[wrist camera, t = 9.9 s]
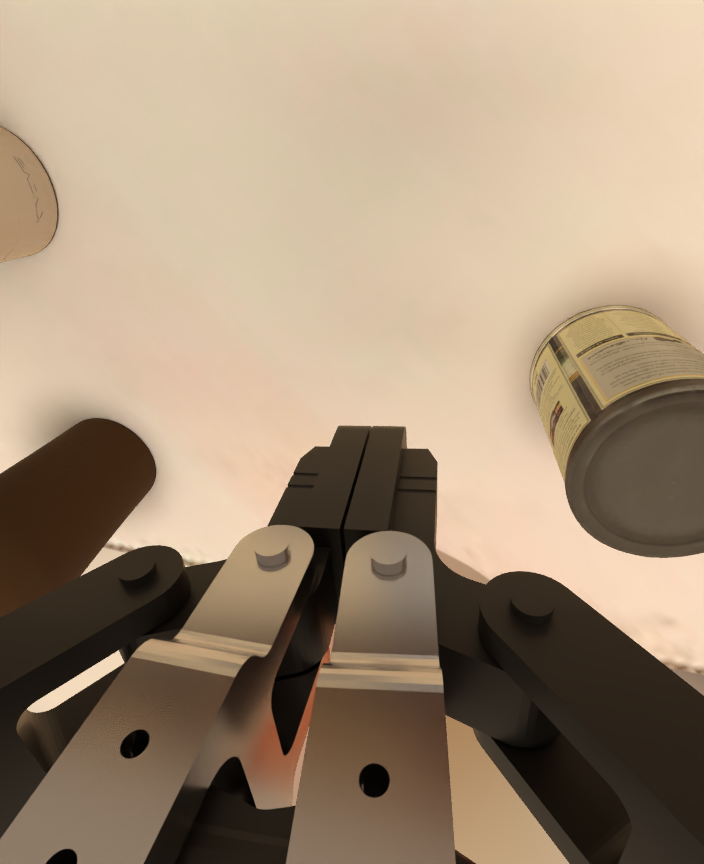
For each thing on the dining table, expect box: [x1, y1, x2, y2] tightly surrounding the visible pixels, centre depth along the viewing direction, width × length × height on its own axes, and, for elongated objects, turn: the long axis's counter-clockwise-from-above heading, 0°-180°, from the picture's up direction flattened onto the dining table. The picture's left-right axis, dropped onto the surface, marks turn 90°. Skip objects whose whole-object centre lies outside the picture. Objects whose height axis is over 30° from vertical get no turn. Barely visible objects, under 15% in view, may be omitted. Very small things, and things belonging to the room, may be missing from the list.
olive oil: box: [0, 419, 156, 617], centre depth 38 cm, size 11×11×25 cm
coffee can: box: [530, 306, 704, 558], centre depth 30 cm, size 10×10×14 cm
